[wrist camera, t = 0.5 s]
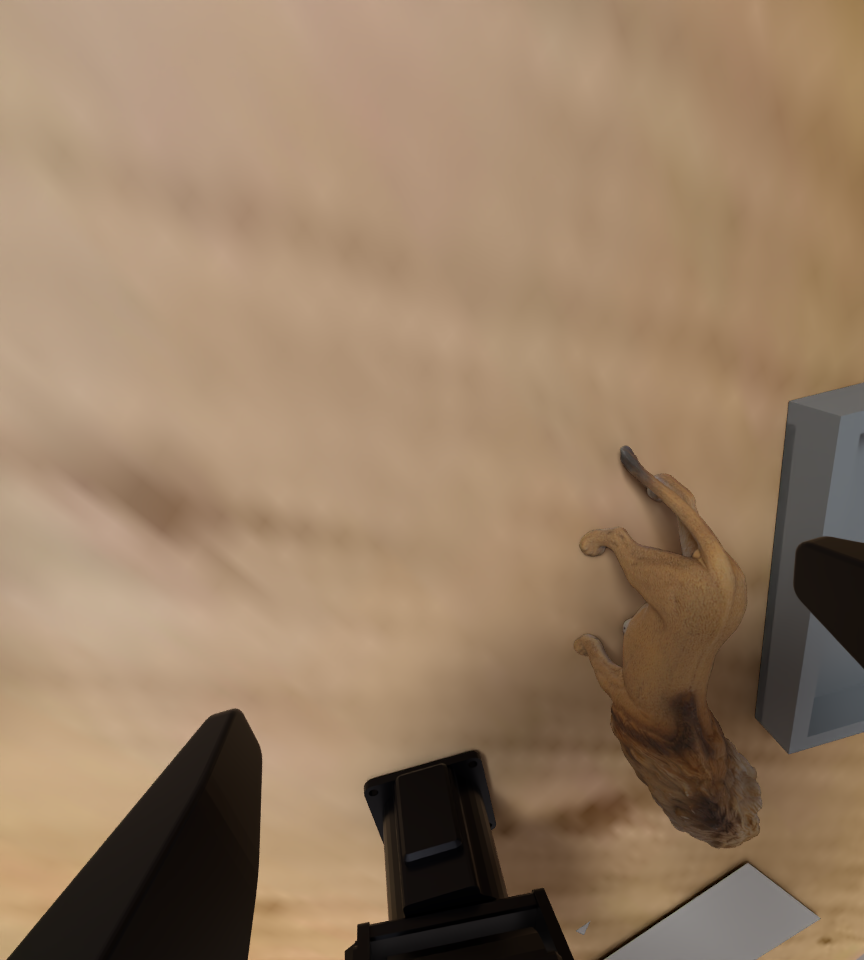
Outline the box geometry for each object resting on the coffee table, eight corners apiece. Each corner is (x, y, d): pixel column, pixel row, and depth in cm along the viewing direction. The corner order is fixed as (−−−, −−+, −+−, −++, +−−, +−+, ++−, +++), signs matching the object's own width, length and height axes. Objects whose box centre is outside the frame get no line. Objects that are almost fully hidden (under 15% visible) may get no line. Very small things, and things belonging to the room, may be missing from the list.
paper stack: (492, 937, 35) (495, 949, 35) (782, 729, 31) (791, 739, 31) (657, 1008, 44) (661, 1019, 44) (899, 854, 40) (908, 863, 39)
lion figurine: (664, 677, 27) (800, 851, 19) (573, 701, 27) (671, 889, 19) (671, 428, 21) (872, 526, 13) (553, 455, 21) (685, 573, 13)
